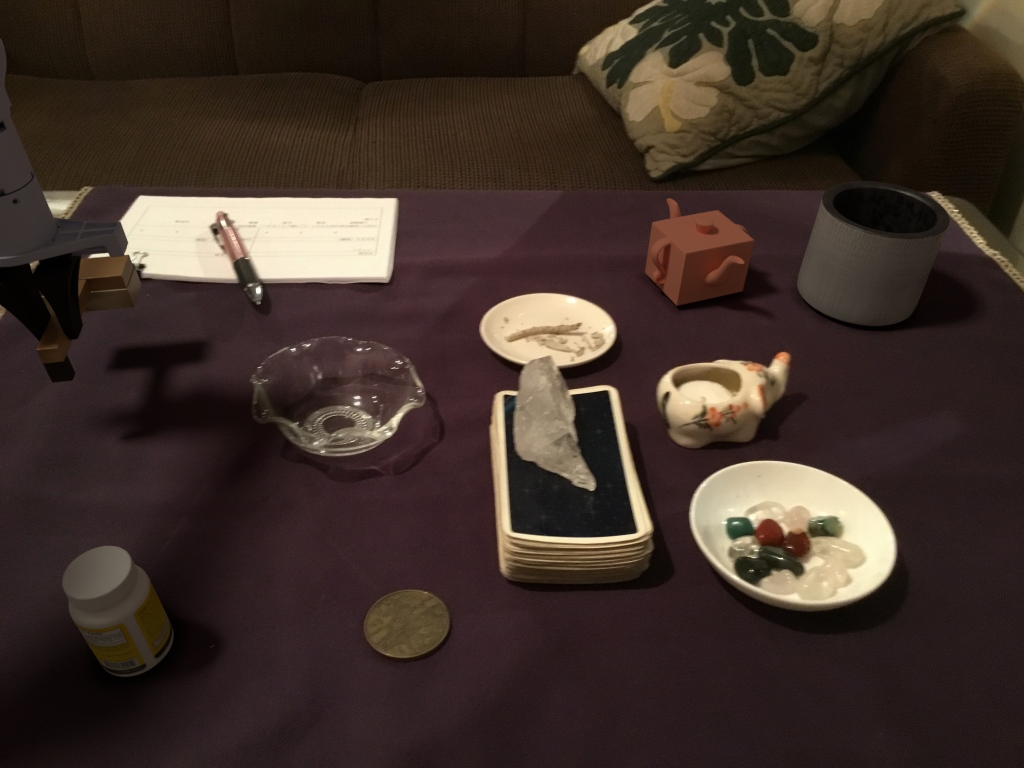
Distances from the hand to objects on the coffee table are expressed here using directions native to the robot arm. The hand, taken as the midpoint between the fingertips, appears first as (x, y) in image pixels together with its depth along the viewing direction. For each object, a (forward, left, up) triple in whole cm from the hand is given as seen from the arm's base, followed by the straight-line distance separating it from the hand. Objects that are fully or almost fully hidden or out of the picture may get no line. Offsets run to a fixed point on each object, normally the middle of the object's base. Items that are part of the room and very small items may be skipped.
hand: (62, 333), depth 65 cm
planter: (+78, +8, -10) cm, 78 cm away
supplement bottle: (+8, -24, -10) cm, 27 cm away
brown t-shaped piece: (0, +4, -2) cm, 4 cm away
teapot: (+61, +13, -10) cm, 63 cm away
